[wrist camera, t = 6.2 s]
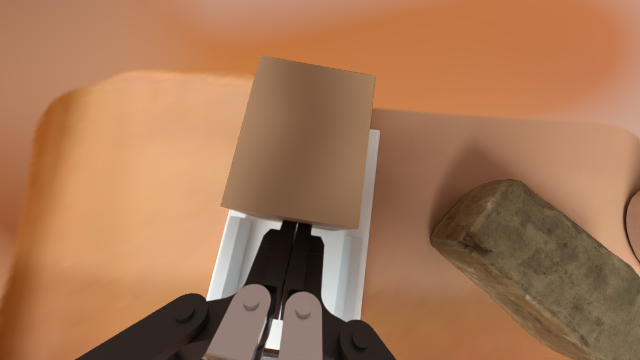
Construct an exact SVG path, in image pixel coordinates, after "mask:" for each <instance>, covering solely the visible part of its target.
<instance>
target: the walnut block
mask: <svg viewBox="0 0 640 360" xmlns="http://www.w3.org/2000/svg"><path fill="white" fill-rule="evenodd" d="M375 78H376V76H373V75H367V74H362V73H357V72H351V71H346V70H340V69H334V68H329V67H323V66H318V65H312V64H306V63H301V62H295V61H289V60H284V59H279V58H273V57H267V56H262V55H261V56H260V59H259V63H258V66H257V70H256V74H255V78H254V82H253V85H252V89H251V93H250V97H249V100H248V104H247V108H246V112H245V116H244V119H243V123H242V127H241V131H240V134H239V138H238V142H237V146H236V150H235V153H234V157H233V161H232V165H231V169H230V172H229V176H228V180H227V184H226V187H225V191H224V195H223V199H222V203H221V206H222V207H225V208H228V209H231V210H234V211H237V212H240V213H243V214H247V215H250V216H253V217H256V218H259V219H262V220H267V221H274V222H280V223H282V221H283V220H287V221H293V222H297V225H298V222H299V223H305V224H312V228H317V229H323V230H329V231H339V230H349V229H358V228H359V220H360V211H361V202H362V193H363V184H364V175H365V167H366V158H367V149H368V140H369V131H370V122H371V114H372V104H373V96H374V87H375Z"/></svg>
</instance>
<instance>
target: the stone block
mask: <svg viewBox="0 0 640 360" xmlns="http://www.w3.org/2000/svg"><path fill="white" fill-rule="evenodd" d="M430 238H431V245H432V246H433V247H435V248H436V249H437V250H438V251H439V252H440V253H441V254H442V255H443V256H444V257H445V258H447V259H448V260H449V261H450V262H451V263H452V264H454V265H455V266H456V267H457V268H458V269H459V270H461V271H462V272H463V273H464V274H465V275H466V276H467V277H468V278H469V279H470V280H472V281H473V282H474V283H475V284H476V285H478V286H479V287H480V288H481V289H483V290H484V291H485V292H487V293H488V294H489V295H490V297H491V298H492V299H493V300H494V301H496V302H497V303H498V304H499V305H500V306H502V307H503V308H504V309H505V310H506V311H507V312H508V313H509V314H510V315H511V317H512V318H513V319H514V320H515V321H516V322H517V323H518V324H519V325H520V326H522V327H523V328H524V329H525V330H526V331H527V332H529V333H530V334H531V335H532V336H534V337H535V338H536V339H538V340H539V341H541V342H542V343H543V344H545V345H546V346H547V347H549V348H550V349H551V350H553V351H555V352H558V353H560V354H562V355H565V356H567V357H569V358H571V359H574V360H640V277H639V275H638V274H637V273H636V272H635V270H634V269H633V268H632V267H631V266H630V265H629V264H627V263H626V262H625V261H623V260H622V259H620V258H619V257H618V256H616V255H615V254H614V253H612V252H611V251H609V250H608V249H607V248H606V247H605V246H603V245H602V244H601V243H600V242H599V241H597V240H596V239H595V238H594V237H592V236H591V235H590V234H589V233H587V232H586V231H585V230H584V229H582V228H581V227H580V226H579V225H577V224H576V223H575V222H573V221H572V220H571V219H570V218H568V217H567V216H566V215H564V214H563V213H562V212H560V211H559V210H558V209H556V208H555V207H554V206H552V205H551V204H549V203H548V202H546V201H545V200H543V199H542V198H540V197H539V196H538V195H537V194H535V193H534V192H533V191H532V190H531V189H530V188H529V187H528V186H527V185H525V184H524V183H522V182H521V181H517V180H512V179H508V180H496V181H493V182H489V183H485V184H482V185H480V186H478V187H476V188H474V189H472V190H470V191H469V192H468V193H467V194H465V195H464V196H463V197H462V198H461V199H460V201H459V202H458V203H457V204H456V205H455V206H454V207H453V208H452V209H451V211H450V212H449V213H448V214H447V215H446V216H445V217H444V218H443V219H442V221H441V222H440V223H439V224H438V226H437V227H436V228H435V229H434V231H433V233H432V235H431V237H430Z"/></svg>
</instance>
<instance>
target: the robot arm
mask: <svg viewBox="0 0 640 360" xmlns="http://www.w3.org/2000/svg"><path fill="white" fill-rule="evenodd" d="M626 223H627V232H628V236H629V240H630V243H631V245H632V248H633V250H634V252H635V254H636V256H637V258H638V259H639V261H640V190H639V191H638V192H637V193H636V194H635V195H634V196H633V197H632V199H631V201H630V204H629V206H628V210H627V216H626ZM296 229H297V230H296ZM311 230H312V224H305V223H299V222H298V226H297V222H293V221H287V220H283V221H282V224H281V228H280V230H277V229H270V230H269V231H268V232H267V233H266V234H265V235H264V236H263V238H262V241H261V243H260V246H259V248H258V251H257V254H256V256H255V259H254V261H253V264H252V266H251V269H250V272H249V274H248V277H247V279H246V282H245V284H244V285H243V287H242V288H241V289H240V290H239V291H238V292H236V293H235V294H233V295H231V296H229V297H226V298H222V299H216V300H210V301H206V299H205V298H204V297H203V296H202V295H200V294H196V293H191V294H185V295H183V296H180V297H178V298H176V299H175V300H173V301H171V302H170V303H168V304H167V305H165V306H163V307H162V308H160V309H158V310H157V311H155V312H153V313H152V314H150V315H148V316H147V317H145V318H143V319H142V320H140V321H138V322H137V323H135V324H133V325H132V326H130V327H128V328H127V329H125V330H123V331H122V332H120V333H119V334H117V335H115V336H114V337H112V338H110V339H109V340H107V341H105V342H104V343H102V344H100V345H99V346H97V347H95V348H94V349H92V350H90V351H89V352H87V353H85V354H84V355H82V356H80V357H79V358H77V359H75V360H262V357H263V354H264V350H265V347H266V344H267V340H268V337H269V334H270V330H271V326H272V322H273V319H275V320H278V319H279V315H280V310H281V315H280V320H283V326H282V334H281V341H280V349H279V357H278V360H396V359H395V358H394V356H393V355H392V354H391V352H390V351H389V350H388V348H387V347H386V346H385V344H384V343H383V342H382V340H381V339H380V338H379V336H378V335H377V334H376V332H375V331H374V330H373V328H372V327H371V326H370V325H369V324H367V323H366V322H364V321H361V320H356V319H355V320H350V321H348V322H346V321H344V320H342V319H340V318H338V317H336V316H335V315H333V314H332V313H330V312H329V311H328V310H327V308H326V307H325V306H324V303H323V301H322V297H321V290H322V275H323V260H324V243H323V240H322V238H321V236H314V235H311ZM281 306H282V307H281Z"/></svg>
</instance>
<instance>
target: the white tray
mask: <svg viewBox="0 0 640 360" xmlns="http://www.w3.org/2000/svg"><path fill="white" fill-rule="evenodd" d="M379 136H380V131H378V130H373V129H370V131H369V140H368V149H367V158H366V167H365V175H364V184H363V193H362V202H361V211H360V220H359V228H358V229H349V230H339V231H329V230H323V229H317V228H312V230H311V235H314V236H321V238H322V240H323V243H324V260H323V275H322V290H321V297H322V301H323V303H324V306H325V307H326V308H327V310H328V311H329V312H330V313H332V314H333V315H335V316H336V317H338V318H340V319H342V320H344V321H346V322H348V321H350V320H355V319H356V320H360V316H361V306H362V297H363V287H364V278H365V268H366V259H367V249H368V240H369V230H370V221H371V212H372V202H373V193H374V183H375V174H376V164H377V155H378V145H379ZM281 224H282V223H280V222H274V221H267V220H262V219H259V218H256V217H253V216H250V215H247V214H243V213H240V212H237V211H234V210H231V209H230V210H229V214H228V218H227V222H226V225H225V229H224V233H223V237H222V241H221V245H220V249H219V253H218V256H217V260H216V264H215V268H214V272H213V276H212V280H211V284H210V287H209V291H208V295H207V299H206V301H210V300H216V299H222V298H226V297H229V296H231V295H233V294H235V293H236V292H238V291H239V290H240V289H241V288H242V287H243V285H244V284H245V282H246V279H247V277H248V274H249V272H250V269H251V266H252V264H253V261H254V259H255V256H256V254H257V251H258V248H259V246H260V243H261V241H262V238H263V236H264V235H265V234H266V233H267V232H268V231H269V230H270V229H277V230H280V228H281ZM297 226H298V225H297ZM296 230H297V229H296ZM281 307H282V306H281ZM280 315H281V310H280ZM280 315H279V319H278V320H275V319H273V322H272V326H271V330H270V334H269V337H268V340H267V344H266V347H265V348H270V349H276V350H279V349H280V341H281V334H282V326H283V320H280ZM278 357H279V354H275V353H268V352H264V354H263V357H262V360H278Z"/></svg>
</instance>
